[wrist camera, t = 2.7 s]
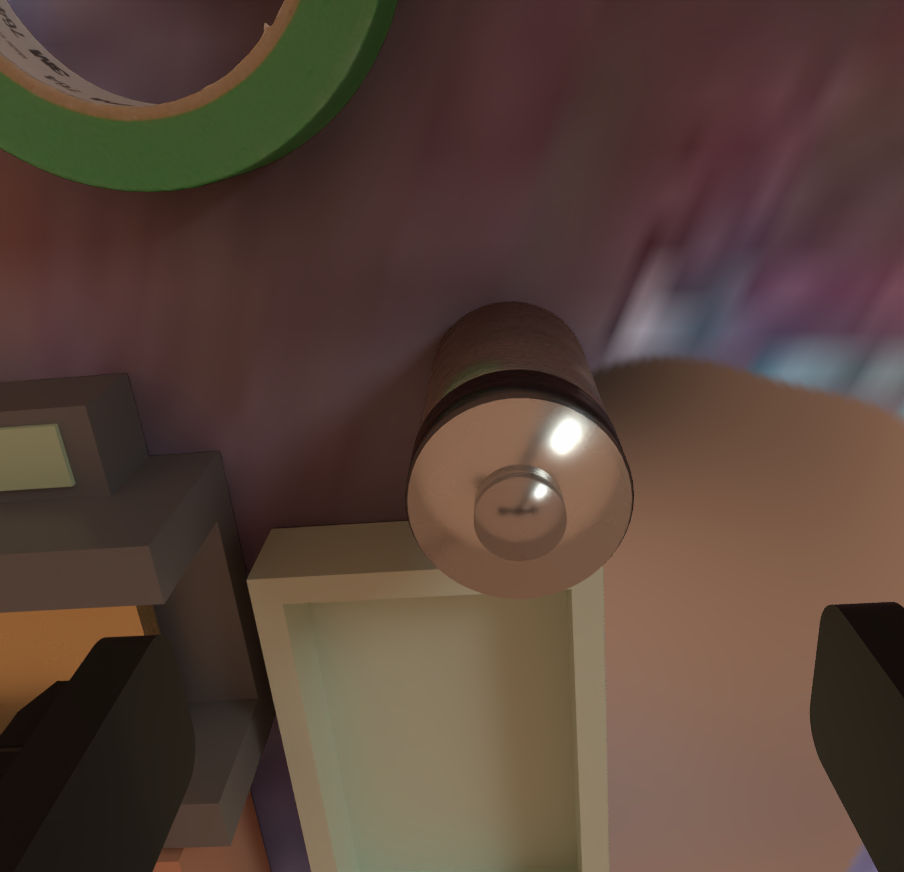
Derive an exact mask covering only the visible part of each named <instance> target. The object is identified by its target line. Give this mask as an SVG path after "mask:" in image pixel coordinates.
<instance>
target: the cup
mask: <svg viewBox="0 0 904 872" xmlns="http://www.w3.org/2000/svg"><path fill="white" fill-rule="evenodd" d="M153 872H271V871H270V867H269V863H268V859H267V855H266V851H265V847H264V843H263V839H262V835H261V831H260V827H259V823H258V819H257V815H256V811H255V807H254V803H253V799H252V795H251V791H249V793H248V796H247V799H246V802H245V805H244V808H243V811H242V814H241V817H240V820H239V823H238V826H237V829H236V832H235V834H234V837H233V840H232V843H231V846H221V847H188V848H162V850H161V853H160V855H159V858H158V860H157V862H156V865H155V867H154V870H153Z"/></svg>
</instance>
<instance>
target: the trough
mask: <svg viewBox="0 0 904 872" xmlns="http://www.w3.org/2000/svg"><path fill="white" fill-rule="evenodd" d="M603 580H604V575H603V566H602V567H601V568H600V569H598V570H597V571H596V572H595V573H594V574H592V575H591V576H590V577H588V578H587V579H585V580H584V581H582V582H580V583H579V584H577V585H575V586H573V587H571V588H568V589H566V590H564V591H561V592H558V593H555V594H552V595H547V596H543V597H537V598H528V599H508V598H500V597H494V596H490V595H485V594H482V593H479V592H476V591H473V590H471V589H469V588H467V587H464V586H462V585H460V584H458V583H457V582H455V581H454V580H452V579H451V578H449V577H448V576H446V575H445V574H444V573H443V572H442V571H440V570H439V569H438V568H437V567H436V566H435V565H434V564H433V563H432V562H431V561H430V560H429V559H428V558H427V557H426V555H425V554H424V553H423V551H422V550H421V548H420V547H419V545H418V543H417V541H416V540H415V538H414V536H413V534H412V531H411V528H410V525H409V522H408V521H396V522H379V523H363V524H346V525H329V526H312V527H296V528H279V529H271V531H270V533H269V535H268V537H267V539H266V541H265V543H264V545H263V547H262V549H261V551H260V553H259V555H258V557H257V559H256V561H255V563H254V565H253V567H252V569H251V571H250V573H249V576H248V578H247V585H248V589H249V594H250V598H251V603H252V607H253V612H254V616H255V621H256V625H257V630H258V634H259V639H260V643H261V648H262V652H263V657H264V661H265V666H266V670H267V675H268V679H269V684H270V688H271V693H272V697H273V702H274V706H275V711H276V715H277V720H278V724H279V729H280V733H281V738H282V742H283V747H284V751H285V756H286V760H287V765H288V769H289V774H290V778H291V783H292V787H293V792H294V796H295V801H296V805H297V810H298V814H299V819H300V823H301V828H302V832H303V837H304V841H305V846H306V850H307V855H308V859H309V864H310V868H311V872H609V832H608V831H609V830H608V779H607V729H606V679H605V678H606V677H605V627H604V581H603Z"/></svg>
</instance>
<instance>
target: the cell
mask: <svg viewBox="0 0 904 872" xmlns="http://www.w3.org/2000/svg"><path fill="white" fill-rule="evenodd" d="M633 501H634V491H633V480H632V476H631V472H630V468H629V465H628V463H627V460H626V457H625V455H624V452H623V449H622V447H621V444H620V442H619V439H618V436H617V434H616V431H615V429H614V426H613V424H612V423H611V421H610V419H609V417H608V416H607V414H606V411H605V409H604V406H603V404H602V401H601V398H600V396H599V393H598V390H597V387H596V385H595V382H594V379H593V376H592V374H591V371H590V368H589V366H588V363H587V360H586V358H585V355H584V352H583V350H582V347H581V345H580V343H579V341H578V339H577V337H576V336H575V334H574V333H573V332H572V330H571V329H570V328H569V327H568V326H567V325H566V324H565V323H564V322H563V321H562V320H561V319H560V318H558V317H557V316H556V315H554V314H553V313H551V312H549V311H547V310H545V309H543V308H541V307H538V306H535V305H532V304H528V303H522V302H500V303H493V304H490V305H486V306H483V307H481V308H478V309H476V310H474V311H472V312H470V313H468V314H467V315H465V316H464V317H463V318H461V319H460V320H459V321H457V322H456V323H455V324H454V325H453V326H452V327H451V328H450V330H449V331H448V332H447V333H446V335H445V336H444V338H443V339H442V341H441V343H440V345H439V347H438V349H437V352H436V355H435V359H434V363H433V367H432V372H431V377H430V382H429V387H428V392H427V397H426V402H425V407H424V412H423V417H422V422H421V427H420V430H419V432H418V435H417V437H416V441H415V445H414V449H413V453H412V458H411V463H410V468H409V472H408V477H407V482H406V492H405V504H406V513H407V518H408V522H409V525H410V528H411V531H412V534H413V536H414V538H415V540H416V541H417V543H418V545H419V547H420V548H421V550H422V551H423V553H424V554H425V555H426V557H427V558H428V559H429V560H430V561H431V562H432V563H433V564H434V565H435V566H436V567H437V568H438V569H439V570H440V571H442V572H443V573H444V574H445V575H446V576H448V577H449V578H451V579H452V580H454V581H455V582H457V583H458V584H460V585H462V586H464V587H467V588H469V589H471V590H473V591H476V592H479V593H482V594H485V595H490V596H494V597H500V598H508V599H528V598H537V597H543V596H547V595H552V594H555V593H558V592H561V591H564V590H566V589H568V588H571V587H573V586H575V585H577V584H579V583H580V582H582V581H584V580H585V579H587V578H588V577H590V576H591V575H592V574H594V573H595V572H596V571H597V570H598V569H600V568H601V567H602V566H603V565H604V563H606V562H607V560H608V559H609V558H610V557H611V556H612V555H613V553H614V552H615V550H616V549H617V548H618V546H619V545H620V543H621V541H622V539H623V538H624V536H625V534H626V531H627V528H628V526H629V523H630V520H631V515H632V511H633Z"/></svg>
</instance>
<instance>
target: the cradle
mask: <svg viewBox="0 0 904 872" xmlns="http://www.w3.org/2000/svg"><path fill="white" fill-rule="evenodd" d="M247 578H248V577H247V573H246V568H245V564H244V559H243V555H242V550H241V546H240V541H239V537H238V532H237V528H236V523H235V519H234V514H233V510H232V505H231V500H230V496H229V491H228V487H227V482H226V478H225V473H224V469H223V464H222V460H221V455H220V451H214V452H199V453H185V454H170V455H155V456H149V455H148V451H147V448H146V444H145V440H144V436H143V432H142V428H141V424H140V421H139V417H138V413H137V409H136V405H135V401H134V398H133V394H132V390H131V386H130V382H129V378H128V374H127V373H122V374H109V375H96V376H82V377H69V378H56V379H42V380H29V381H16V382H2V383H0V613H6V612H25V611H44V610H63V609H81V608H100V607H119V606H137V605H153V608H154V612H155V615H156V619H157V623H158V626H159V630H160V633H161V635H165V636H166V637H168V638H169V640H170V641H171V643H172V646H173V649H174V652H175V656H176V660H177V664H178V668H179V672H180V676H181V680H182V684H183V688H184V692H185V696H186V700H187V704H188V707H189V711H190V715H191V719H192V723H193V727H194V732H195V745H196V747H195V762H194V768H193V773H192V777H191V781H190V783H189V786H188V788H187V791H186V793H185V796H184V798H183V800H182V803H181V805H180V808H179V810H178V812H177V815H176V817H175V819H174V822H173V824H172V827H171V829H170V831H169V834H168V836H167V839H166V841H165V843H164V846H163V848H188V847H221V846H231V843H232V840H233V837H234V834H235V832H236V829H237V826H238V823H239V820H240V817H241V814H242V811H243V808H244V805H245V802H246V799H247V796H248V793H249V791H250V788H251V785H252V782H253V779H254V776H255V773H256V770H257V767H258V764H259V761H260V758H261V755H262V752H263V750H264V747H265V744H266V741H267V738H268V735H269V732H270V729H271V726H272V723H273V720H274V717H275V714H276V711H275V706H274V702H273V697H272V693H271V688H270V684H269V679H268V675H267V670H266V666H265V661H264V657H263V652H262V648H261V643H260V639H259V634H258V630H257V625H256V621H255V616H254V612H253V607H252V603H251V598H250V594H249V589H248V585H247Z"/></svg>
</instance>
